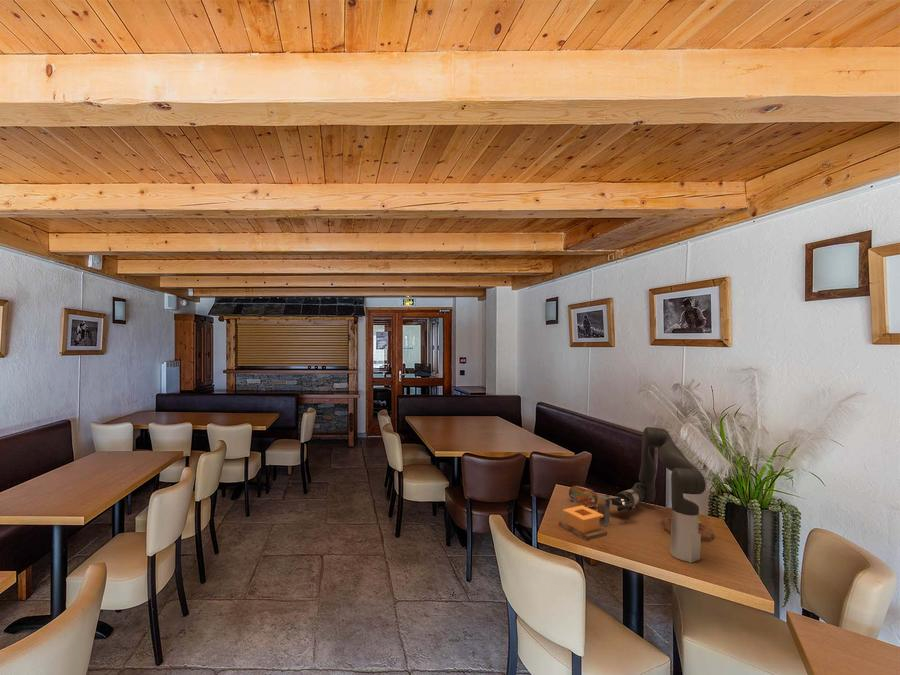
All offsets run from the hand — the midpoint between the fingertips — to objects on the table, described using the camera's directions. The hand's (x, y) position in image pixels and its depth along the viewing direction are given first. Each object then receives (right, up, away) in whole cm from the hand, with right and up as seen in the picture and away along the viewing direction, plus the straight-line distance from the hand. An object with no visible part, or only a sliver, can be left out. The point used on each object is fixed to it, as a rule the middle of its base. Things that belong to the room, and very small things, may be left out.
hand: (609, 506), depth 195 cm
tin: (-6, -7, +20) cm, 22 cm away
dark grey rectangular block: (-4, -7, -3) cm, 8 cm away
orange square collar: (-15, -5, -9) cm, 18 cm away
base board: (-15, -6, -9) cm, 19 cm away
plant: (+32, -9, -7) cm, 34 cm away
